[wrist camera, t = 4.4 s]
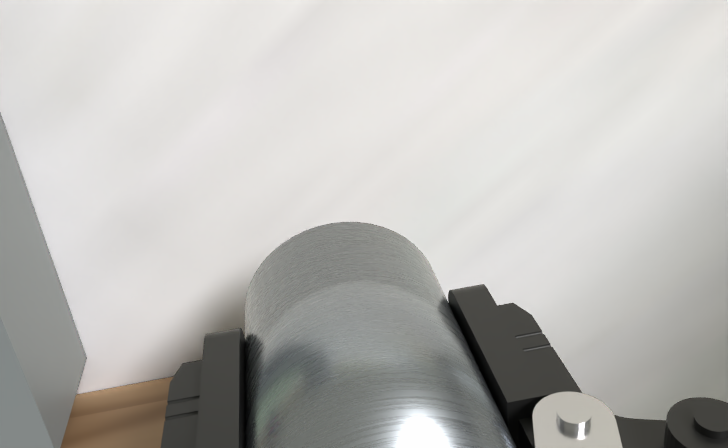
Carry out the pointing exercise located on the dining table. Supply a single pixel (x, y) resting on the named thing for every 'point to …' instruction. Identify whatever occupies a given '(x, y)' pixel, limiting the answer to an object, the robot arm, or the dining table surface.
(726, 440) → the robot arm
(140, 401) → the brown wooden tray
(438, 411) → the cell
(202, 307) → the dining table surface
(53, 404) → the checker base
